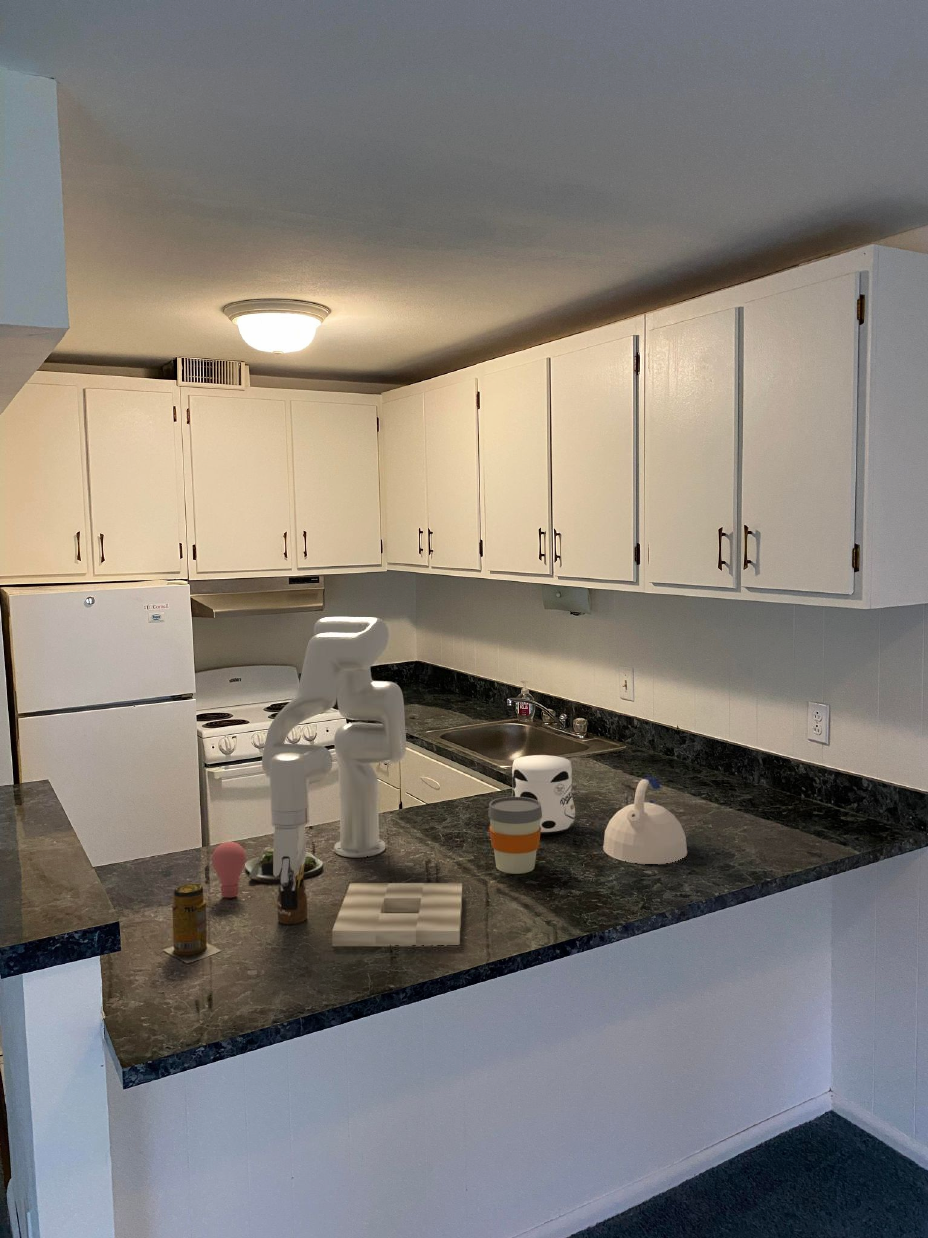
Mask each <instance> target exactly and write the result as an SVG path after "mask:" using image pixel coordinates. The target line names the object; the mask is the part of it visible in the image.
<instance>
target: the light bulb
mask: <svg viewBox="0 0 928 1238" xmlns="http://www.w3.org/2000/svg"><path fill="white" fill-rule="evenodd" d="M246 862H247V855H246V851H245V849H244V848H243V847H242V846H241V845H240V844H239V843H237V842H234V841H227V842H223V843H221V844H219V845H217V847H216V848H215V849H214V851H213V852H212V856H211V865H212V867H213V869H214V870H215V873H216V874H217V876H218V877H219V883H220V885H221V886H220V892H221V896H222V897H223V898H230V899H231V898H235V897H237V896H238V895H239V883H240V876H241V873H242V872H243V871H244V867H245V863H246Z"/></svg>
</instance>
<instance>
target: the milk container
mask: <svg viewBox="0 0 928 1238" xmlns="http://www.w3.org/2000/svg"><path fill="white" fill-rule="evenodd" d="M511 767H512V769H511V772H512V778H511V780H512V781H511V783H512V794H511V797H526V798H532V799H535V800H537V801H539V802H540V803H541V810H542V818H541V819H540V827H541V834H540V835H553V834H554V835H555V834H560V833H562V832H566V831H568V830H569V829H570V828H572V827H573V825H574V823H575V818H576V817H575V816H576V808H575V807H576V806H575V803H574V799H573V793H572V789H573V788H572V785H573V784H572V783H573V782H572V781H573V780H572V779H573V777H572V775H573V774H572V772H573V771H572V761H571V760H569V759H568V758H565V757H561V756H557V755H547V754H538V755H537V754H535V755H534V754H533V755H526V756H521V757H518V758H515V759H514V760H513V761H512V766H511Z"/></svg>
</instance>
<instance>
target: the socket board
mask: <svg viewBox="0 0 928 1238" xmlns="http://www.w3.org/2000/svg"><path fill="white" fill-rule="evenodd" d="M462 906H463V883H462V882H409V883H408V882H396V883H395V882H392V883H391V882H390V883H389V882H380V883H379V882H377V883H376V882H374V883H373V882H371V883H370V882H369V883H368V882H366V883H365V882H364V883H363V882H361V883H360V882H357V883H356V882H350V883H349V886H348V888H347V891H346V892H345V896H344V898H343V902H342V904H341V906H340V909H339V911H338V914H337V917H336V919H335V922H334V925H333V927H332V931H331V943H332V944H331V945H332V947H396V946H395V945H399V946H398V947H413V946H412V945H416V946H415V947H438V946H437V945H444V946H443V947H448V946H447V945H459V944H460V942H461V941H460V940H461V926H462V925H461V924H462ZM390 945H391V946H390ZM422 945H424V946H422ZM431 945H433V946H431ZM460 945H461V944H460ZM460 945H459V946H460Z"/></svg>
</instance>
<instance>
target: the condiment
mask: <svg viewBox="0 0 928 1238" xmlns="http://www.w3.org/2000/svg"><path fill="white" fill-rule="evenodd" d="M204 897H205V896H204V887H203V886H202V885H201V884H199V883H185V884H184V883H183V884H181V885H179V886H177V887H175V889H174V890H173V900H174V901H173V903H172V905H171V909H172V910H171V911H172V936H173V937H172V941H173V946H169V947H168V948H167V947H166V948H164V949H163V951H164V952H166V953H167V954H169V955H170V956H172V957H173V958H174V957H175V958H176V959H178V960H179V961H181V962H184V963H185V964H189V963H193V962H195V961H198V960H199V961H200V960H202V959H205V958H208V957H210V956H212V955H215V954H217V953H219V952H220V953H221V952H222V950H221V949H219V948H218V947H215V946H214V945H212V944H210V943H208V942H207V941H208V938H207V936H208V935H207V934H208V930H207V928H208V927H207V926H208V923H207V921H208V920H207V903H206V900H205V899H204Z"/></svg>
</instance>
